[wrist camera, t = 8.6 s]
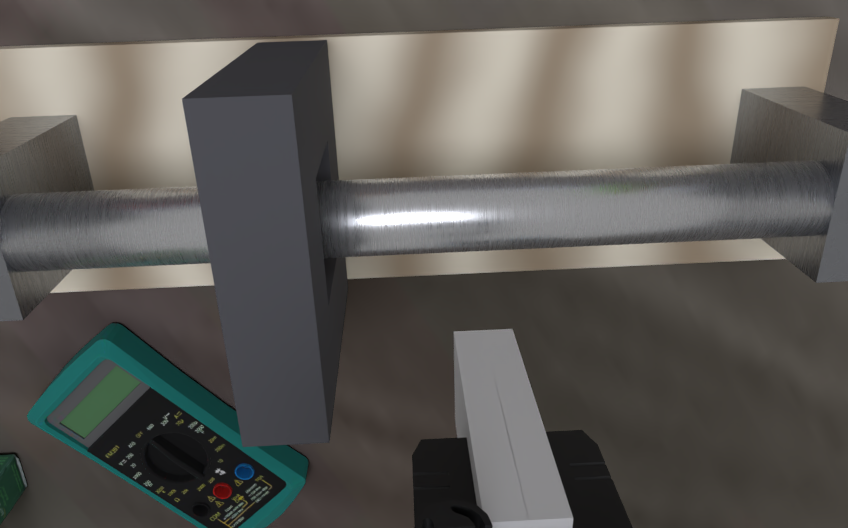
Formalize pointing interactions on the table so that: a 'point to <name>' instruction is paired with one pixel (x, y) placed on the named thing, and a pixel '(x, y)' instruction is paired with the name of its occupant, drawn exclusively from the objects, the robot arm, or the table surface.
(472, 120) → the board
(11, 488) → the coffee box
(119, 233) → the pipe
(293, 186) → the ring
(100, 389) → the digital multimeter
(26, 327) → the table surface
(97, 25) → the table surface
